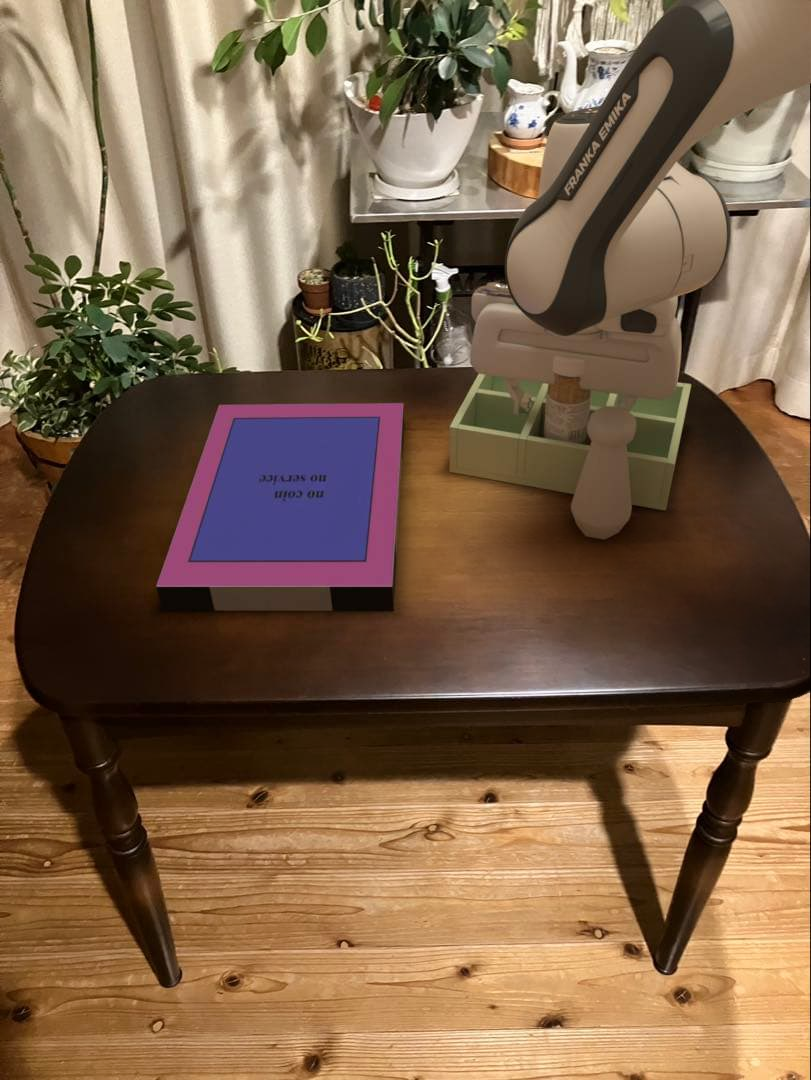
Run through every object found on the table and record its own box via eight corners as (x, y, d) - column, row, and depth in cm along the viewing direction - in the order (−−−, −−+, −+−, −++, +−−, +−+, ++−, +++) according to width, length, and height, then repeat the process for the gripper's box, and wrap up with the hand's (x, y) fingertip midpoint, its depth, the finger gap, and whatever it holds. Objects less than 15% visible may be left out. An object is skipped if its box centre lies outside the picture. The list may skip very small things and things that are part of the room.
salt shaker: (626, 509, 92) (644, 398, 83) (631, 546, 88) (650, 433, 79) (567, 506, 92) (579, 396, 84) (569, 543, 88) (582, 431, 80)
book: (403, 403, 103) (392, 586, 80) (404, 425, 105) (393, 610, 82) (219, 404, 104) (156, 586, 81) (223, 426, 106) (163, 610, 83)
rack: (682, 428, 102) (691, 383, 99) (665, 510, 92) (674, 464, 88) (487, 398, 109) (488, 355, 105) (449, 472, 98) (449, 426, 94)
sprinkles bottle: (573, 446, 99) (585, 333, 90) (590, 470, 95) (604, 355, 87) (533, 453, 98) (542, 340, 89) (549, 477, 95) (559, 363, 86)
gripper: (462, 294, 85) (461, 419, 94) (687, 322, 79) (663, 452, 88) (480, 266, 89) (477, 388, 98) (695, 291, 84) (671, 418, 93)
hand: (567, 419), depth 93 cm, fingers open, 8 cm apart
